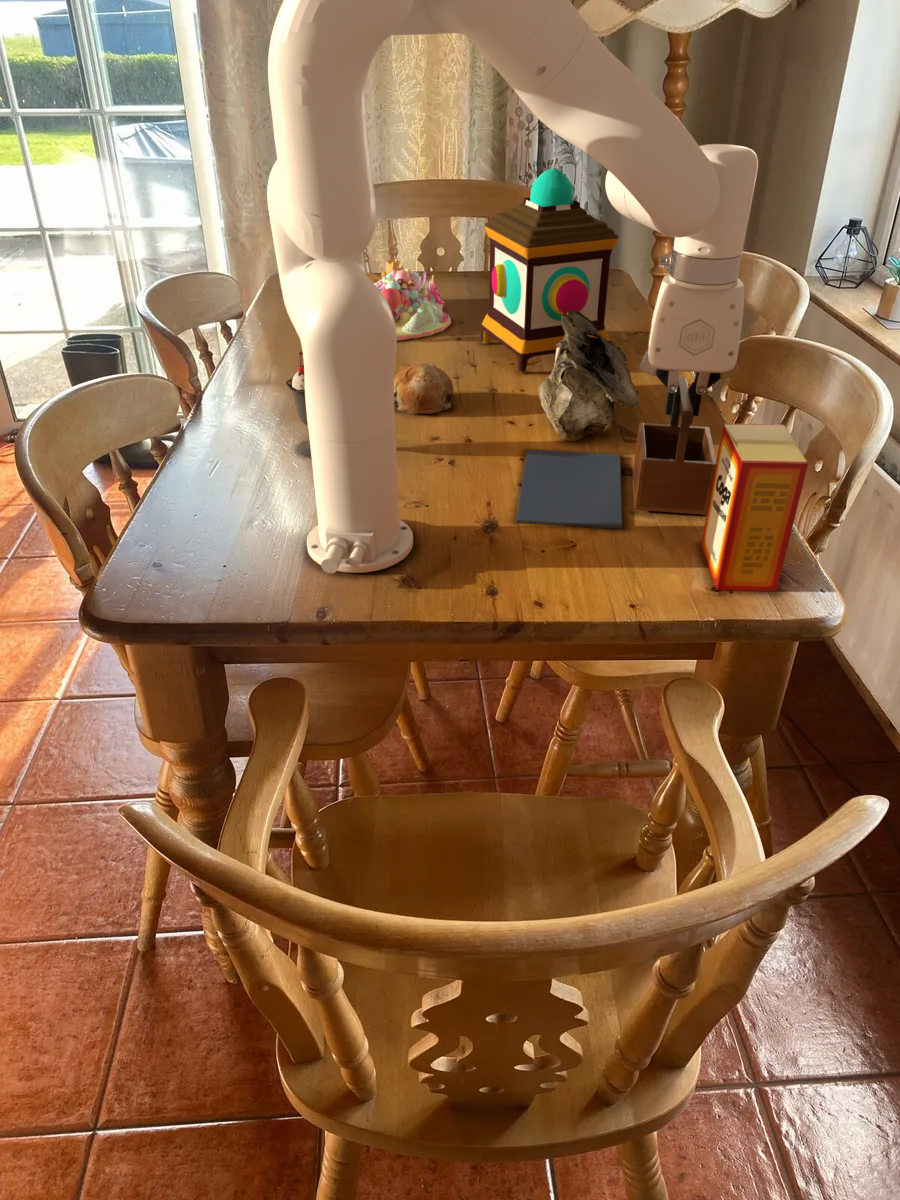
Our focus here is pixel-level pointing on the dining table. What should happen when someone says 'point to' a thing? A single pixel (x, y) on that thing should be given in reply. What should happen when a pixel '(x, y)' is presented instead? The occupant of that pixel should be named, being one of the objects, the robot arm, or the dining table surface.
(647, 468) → the basket
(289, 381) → the sundae
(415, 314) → the candy landscape model
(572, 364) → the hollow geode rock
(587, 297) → the decorative lantern
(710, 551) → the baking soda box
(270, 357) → the dining table surface
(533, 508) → the placemat
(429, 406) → the bread roll
